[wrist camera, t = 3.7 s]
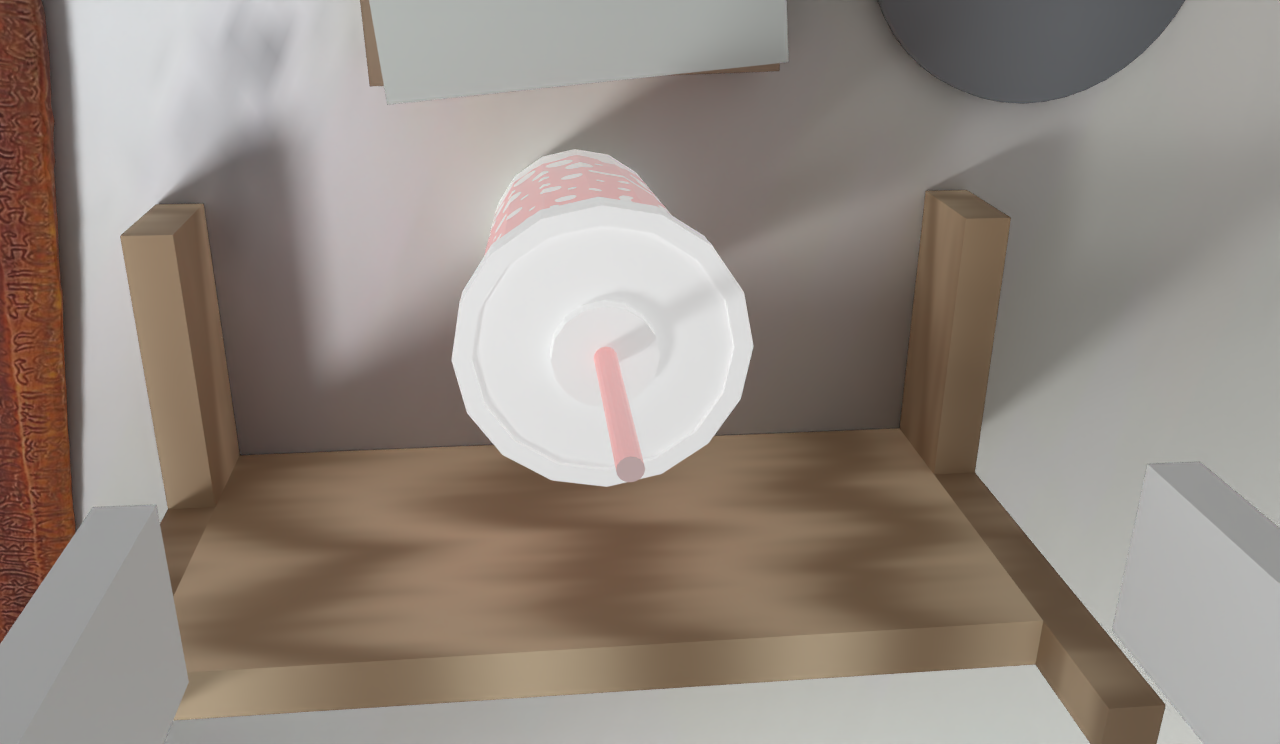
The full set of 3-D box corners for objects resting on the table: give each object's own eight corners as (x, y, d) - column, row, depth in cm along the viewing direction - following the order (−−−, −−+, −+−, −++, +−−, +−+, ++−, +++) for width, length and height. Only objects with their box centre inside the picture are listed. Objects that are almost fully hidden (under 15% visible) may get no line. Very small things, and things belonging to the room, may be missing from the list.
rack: (202, 494, 33) (30, 836, 21) (156, 204, 29) (-82, 413, 17) (933, 461, 35) (1154, 751, 23) (966, 190, 32) (1246, 365, 20)
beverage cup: (719, 284, 32) (864, 542, 19) (523, 369, 32) (537, 679, 19) (636, 82, 30) (739, 224, 17) (425, 177, 30) (367, 387, 17)
